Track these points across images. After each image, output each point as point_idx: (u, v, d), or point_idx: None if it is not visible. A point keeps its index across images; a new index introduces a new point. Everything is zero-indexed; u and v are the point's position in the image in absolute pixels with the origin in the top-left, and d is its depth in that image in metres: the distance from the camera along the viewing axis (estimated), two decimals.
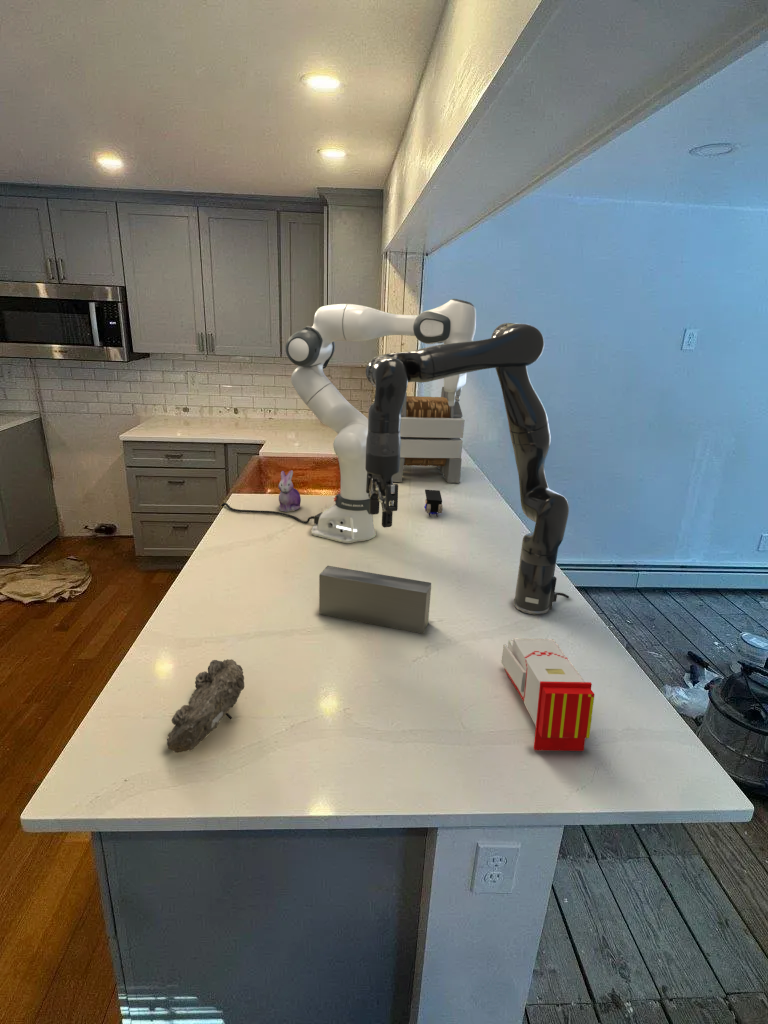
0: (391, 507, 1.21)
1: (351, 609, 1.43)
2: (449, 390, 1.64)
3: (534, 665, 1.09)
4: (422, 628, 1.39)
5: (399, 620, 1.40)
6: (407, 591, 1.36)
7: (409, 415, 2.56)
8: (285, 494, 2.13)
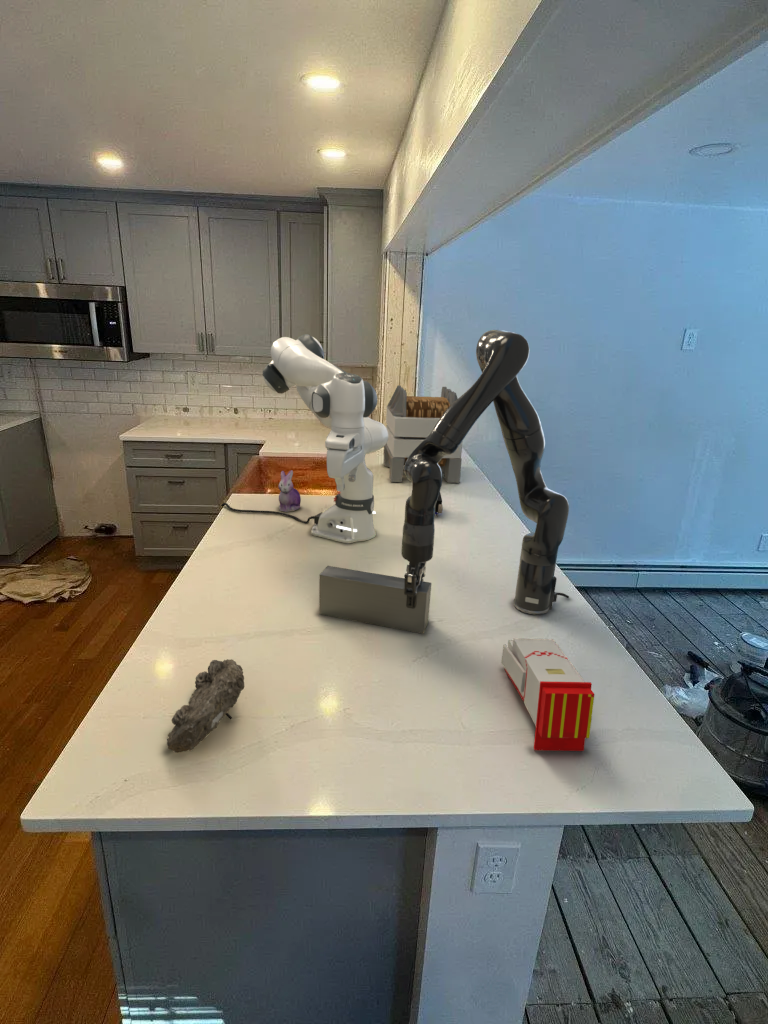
0: (408, 592, 1.33)
1: (351, 609, 1.43)
2: (333, 477, 1.45)
3: (534, 665, 1.09)
4: (422, 628, 1.39)
5: (399, 620, 1.40)
6: None
7: (409, 415, 2.56)
8: (285, 494, 2.13)
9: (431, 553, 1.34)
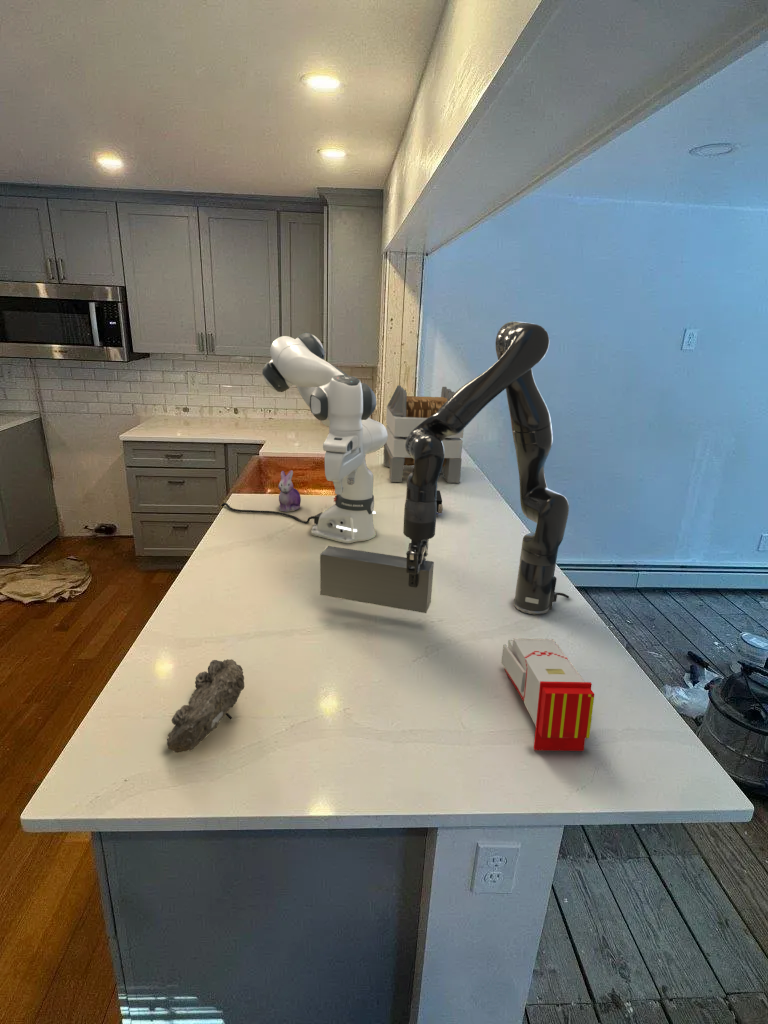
0: (411, 570, 1.31)
1: (352, 589, 1.41)
2: (332, 480, 1.44)
3: (534, 665, 1.09)
4: (425, 607, 1.37)
5: (401, 600, 1.38)
6: None
7: (409, 415, 2.56)
8: (285, 494, 2.13)
9: (433, 530, 1.32)
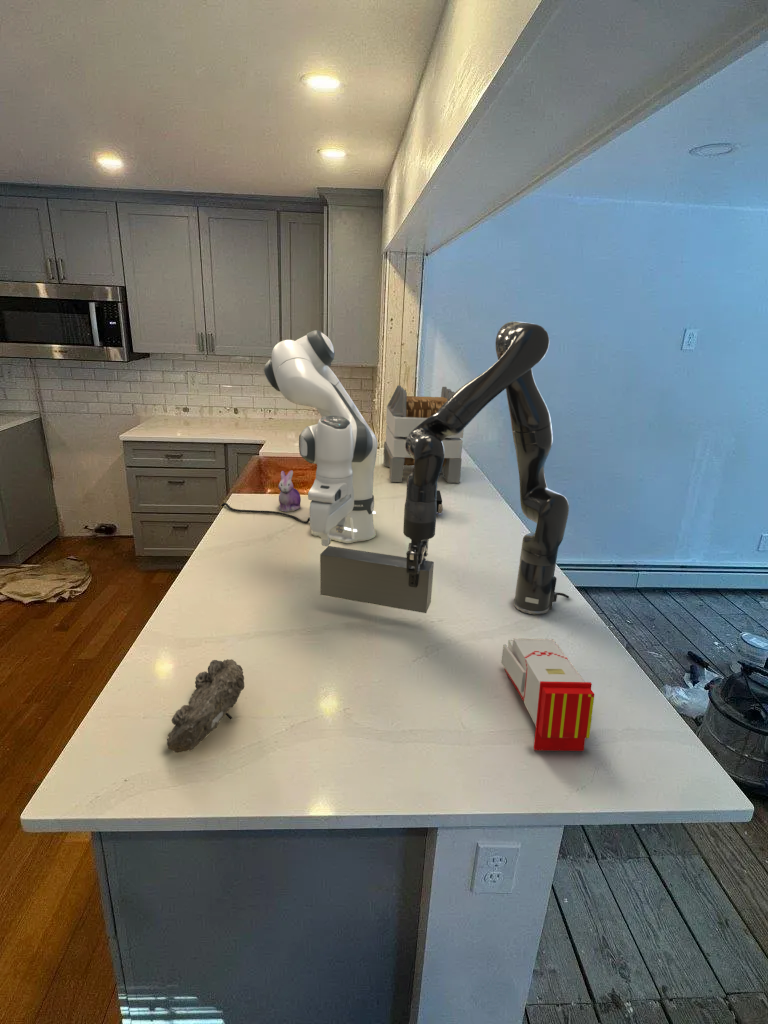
0: (411, 570, 1.31)
1: (352, 589, 1.41)
2: (317, 532, 1.30)
3: (534, 665, 1.09)
4: (425, 607, 1.37)
5: (401, 600, 1.38)
6: None
7: (409, 415, 2.56)
8: (285, 494, 2.13)
9: (433, 530, 1.32)
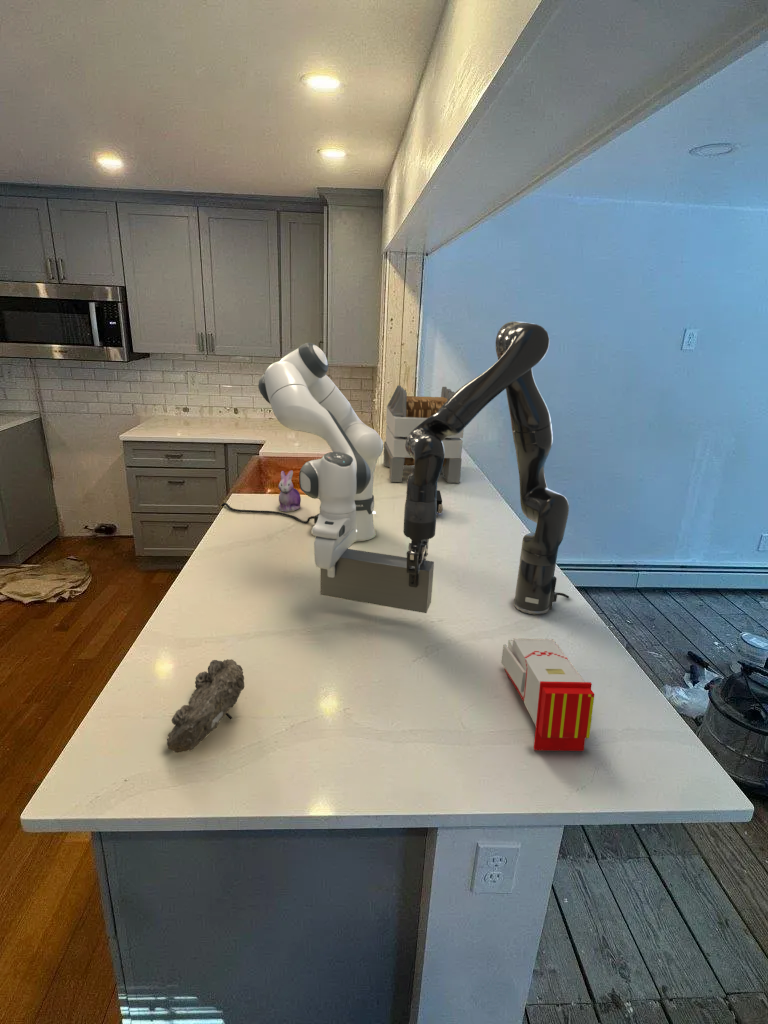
0: (411, 570, 1.31)
1: (353, 589, 1.41)
2: (322, 567, 1.33)
3: (534, 665, 1.09)
4: (425, 607, 1.37)
5: (401, 600, 1.38)
6: None
7: (409, 415, 2.56)
8: (285, 494, 2.13)
9: (433, 530, 1.32)
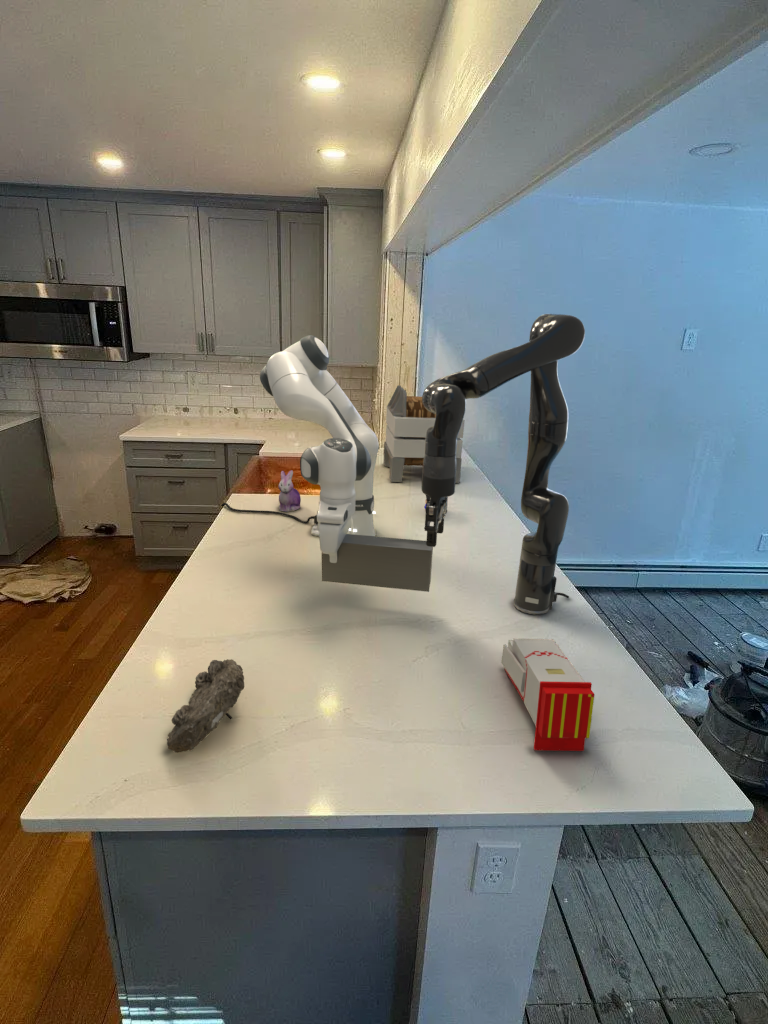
0: (429, 527, 1.25)
1: (355, 573, 1.43)
2: (327, 553, 1.34)
3: (534, 665, 1.09)
4: (427, 586, 1.41)
5: (404, 580, 1.41)
6: (412, 550, 1.38)
7: (409, 415, 2.56)
8: (285, 494, 2.13)
9: (453, 488, 1.27)
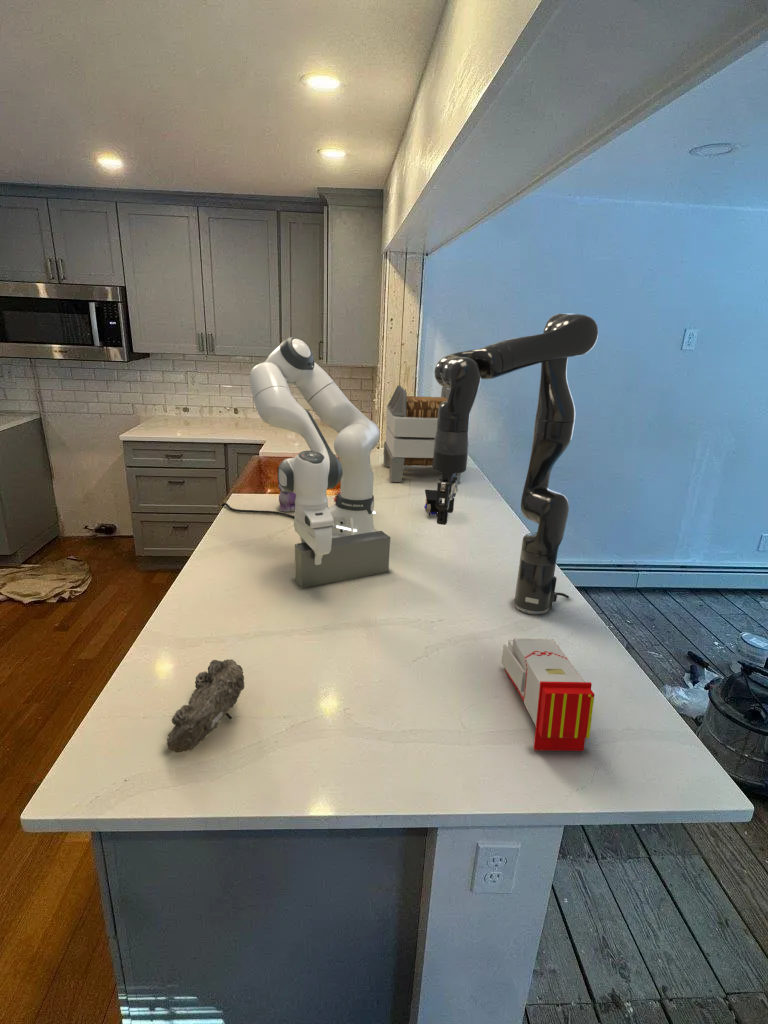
0: (440, 504, 1.23)
1: (331, 573, 1.61)
2: (324, 553, 1.50)
3: (534, 665, 1.09)
4: (387, 567, 1.70)
5: (370, 568, 1.67)
6: (376, 540, 1.65)
7: (409, 415, 2.56)
8: (285, 494, 2.13)
9: (465, 464, 1.25)
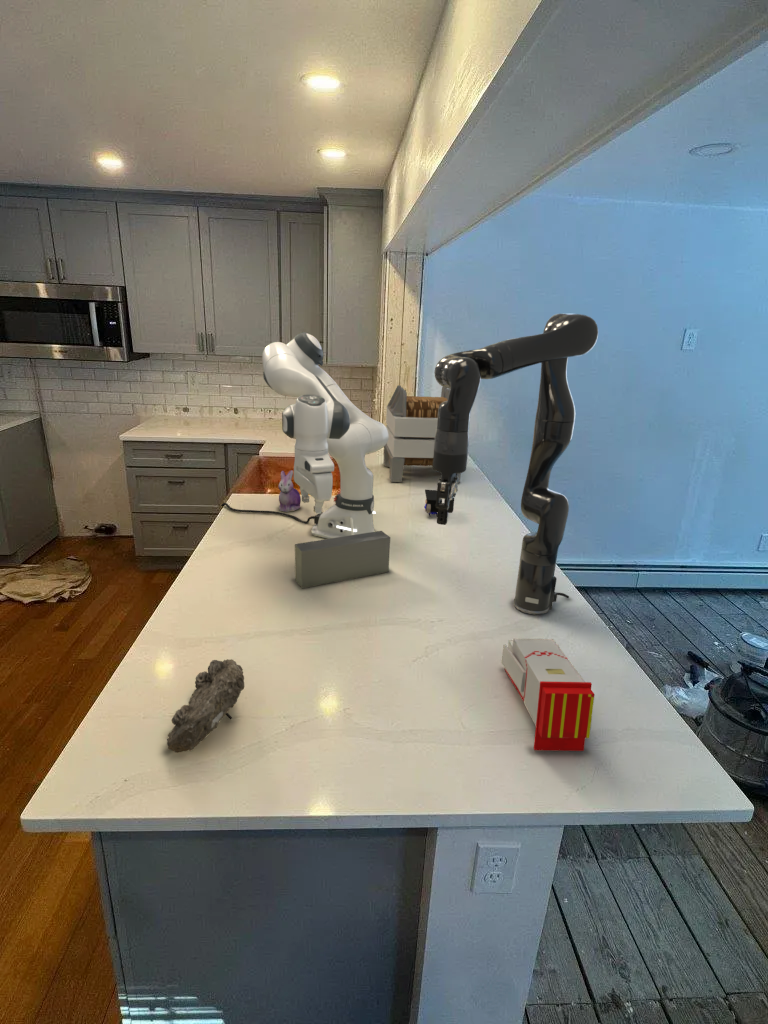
0: (440, 504, 1.23)
1: (331, 573, 1.61)
2: (324, 500, 1.45)
3: (534, 665, 1.09)
4: (387, 567, 1.70)
5: (370, 568, 1.67)
6: (376, 540, 1.65)
7: (409, 415, 2.56)
8: (285, 494, 2.13)
9: (465, 464, 1.25)
